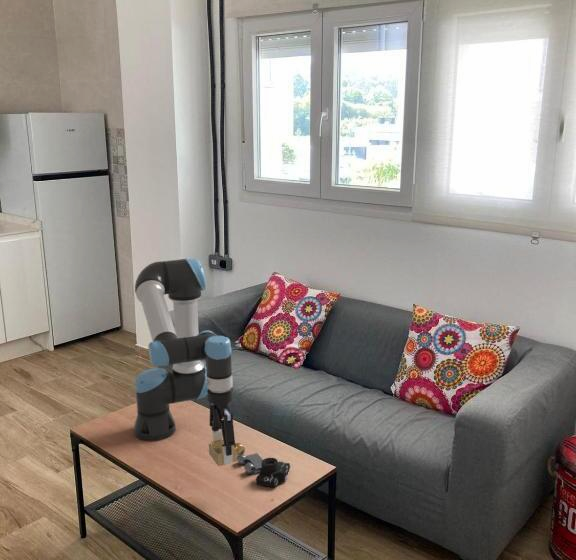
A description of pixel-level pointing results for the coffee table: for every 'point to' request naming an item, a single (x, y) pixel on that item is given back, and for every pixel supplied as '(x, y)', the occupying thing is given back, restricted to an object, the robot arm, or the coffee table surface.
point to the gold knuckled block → (217, 451)
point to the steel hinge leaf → (251, 463)
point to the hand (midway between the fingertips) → (222, 456)
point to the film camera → (272, 472)
